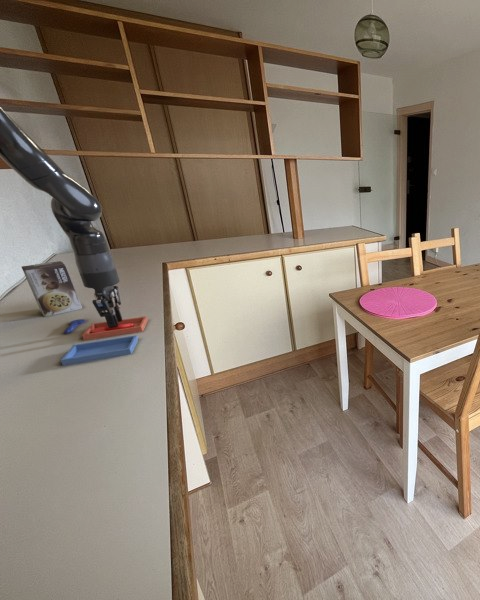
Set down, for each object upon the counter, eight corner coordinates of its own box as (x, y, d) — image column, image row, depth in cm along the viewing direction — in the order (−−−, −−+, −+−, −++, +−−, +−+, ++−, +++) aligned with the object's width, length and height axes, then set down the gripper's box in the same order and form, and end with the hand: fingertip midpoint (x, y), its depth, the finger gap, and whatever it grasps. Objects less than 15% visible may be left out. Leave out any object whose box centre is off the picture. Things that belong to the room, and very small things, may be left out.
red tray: (84, 341, 87) (81, 335, 87) (93, 329, 94) (91, 323, 93) (142, 332, 93) (141, 326, 92) (148, 321, 100) (146, 316, 99)
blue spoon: (75, 334, 91) (73, 329, 91) (59, 336, 90) (57, 332, 89) (87, 321, 99) (85, 317, 99) (72, 322, 98) (71, 318, 97)
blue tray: (63, 367, 76) (60, 360, 75) (76, 351, 83) (73, 344, 82) (132, 355, 82) (129, 348, 81) (138, 341, 88) (136, 335, 88)
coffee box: (78, 304, 110) (61, 260, 104) (83, 309, 107) (66, 263, 101) (40, 312, 103) (20, 265, 97) (44, 318, 100) (24, 269, 94)
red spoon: (135, 325, 97) (134, 320, 96) (133, 329, 94) (132, 325, 93) (94, 330, 92) (92, 326, 92) (90, 335, 89) (88, 331, 89)
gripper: (107, 273, 82) (126, 331, 89) (121, 261, 94) (137, 313, 100) (68, 277, 79) (91, 337, 85) (88, 263, 91) (106, 317, 97)
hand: (115, 323), depth 93 cm, fingers open, 3 cm apart
